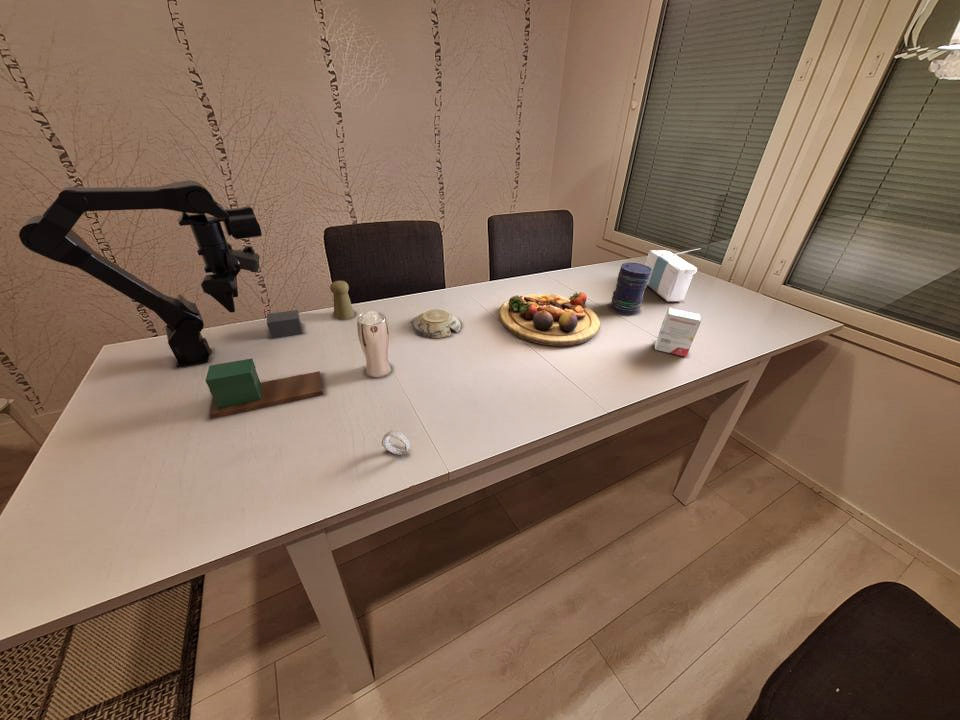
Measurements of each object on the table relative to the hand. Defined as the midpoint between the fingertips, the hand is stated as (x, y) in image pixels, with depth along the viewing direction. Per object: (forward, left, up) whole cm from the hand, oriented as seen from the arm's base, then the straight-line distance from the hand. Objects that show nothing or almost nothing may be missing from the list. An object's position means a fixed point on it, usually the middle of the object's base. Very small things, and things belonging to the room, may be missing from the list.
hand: (234, 304), depth 93 cm
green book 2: (0, -25, -11) cm, 27 cm away
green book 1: (0, -25, -8) cm, 26 cm away
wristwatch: (+28, -52, -12) cm, 60 cm away
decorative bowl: (+51, -7, -12) cm, 53 cm away
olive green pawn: (+26, +9, -12) cm, 30 cm away
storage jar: (+117, -17, -12) cm, 119 cm away
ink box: (+111, -43, -12) cm, 120 cm away
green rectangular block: (0, -25, -6) cm, 26 cm away
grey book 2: (+10, +4, -12) cm, 16 cm away
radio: (+142, -10, -12) cm, 143 cm away
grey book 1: (+10, +4, -10) cm, 14 cm away
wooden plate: (+86, -16, -12) cm, 88 cm away
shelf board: (+6, -25, -12) cm, 28 cm away
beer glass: (+30, -24, -12) cm, 40 cm away
